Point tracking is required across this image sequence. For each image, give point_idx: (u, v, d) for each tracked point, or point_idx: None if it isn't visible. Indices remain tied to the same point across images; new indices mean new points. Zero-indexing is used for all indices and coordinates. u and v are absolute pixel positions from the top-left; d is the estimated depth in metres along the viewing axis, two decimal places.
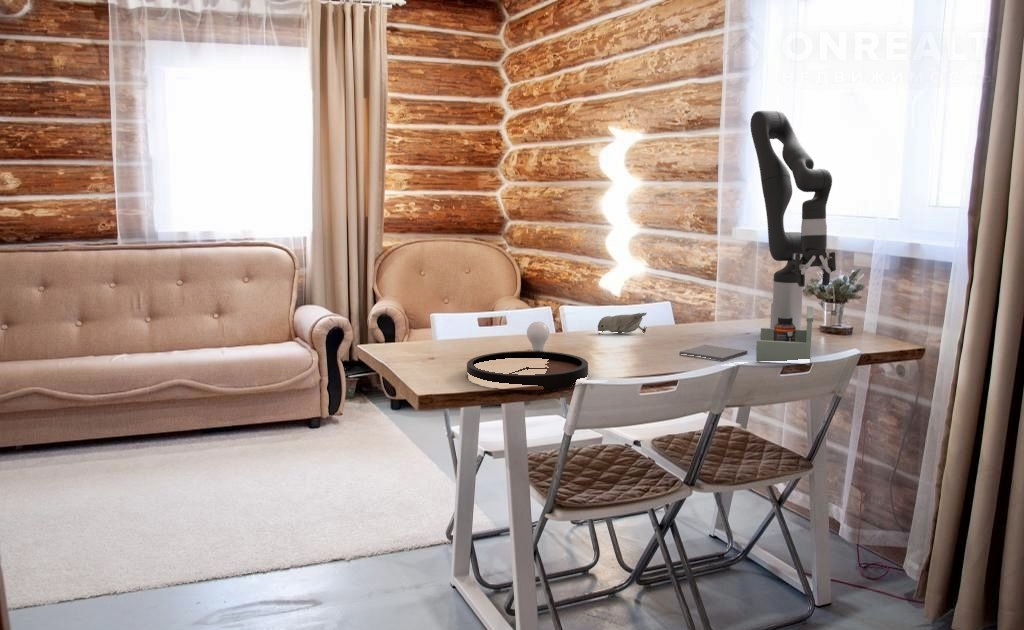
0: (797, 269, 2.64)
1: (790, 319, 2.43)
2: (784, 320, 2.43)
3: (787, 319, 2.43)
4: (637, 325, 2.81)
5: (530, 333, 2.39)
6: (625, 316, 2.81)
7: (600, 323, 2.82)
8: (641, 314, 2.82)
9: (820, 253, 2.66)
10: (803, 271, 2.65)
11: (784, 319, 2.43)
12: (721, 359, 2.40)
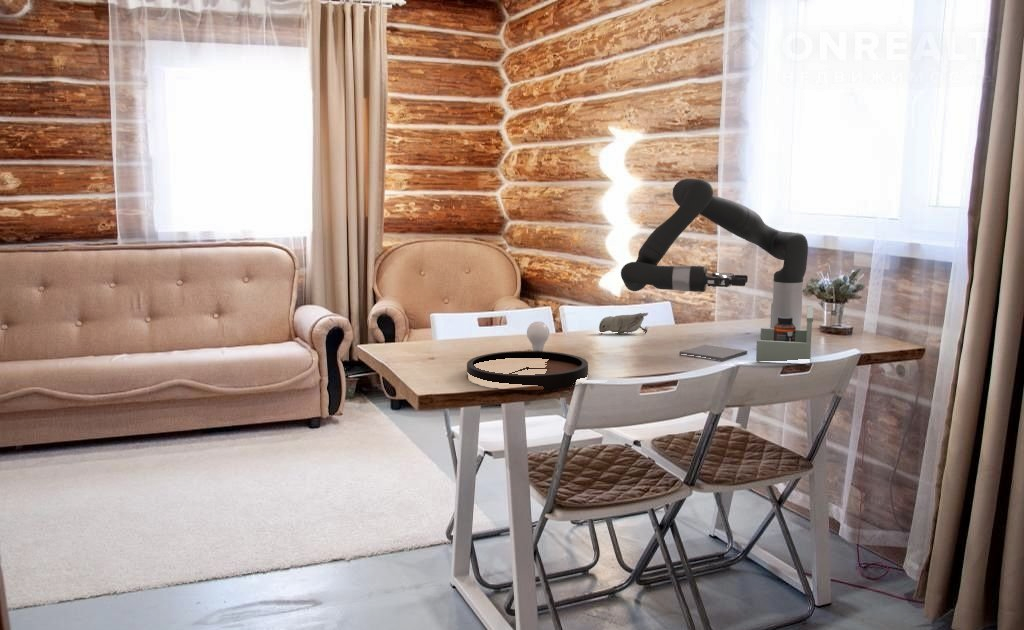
0: None
1: (790, 319, 2.43)
2: (784, 320, 2.43)
3: (787, 319, 2.43)
4: (638, 325, 2.81)
5: (530, 333, 2.39)
6: (626, 316, 2.81)
7: (601, 323, 2.82)
8: (642, 314, 2.82)
9: None
10: None
11: (784, 319, 2.43)
12: (721, 359, 2.40)
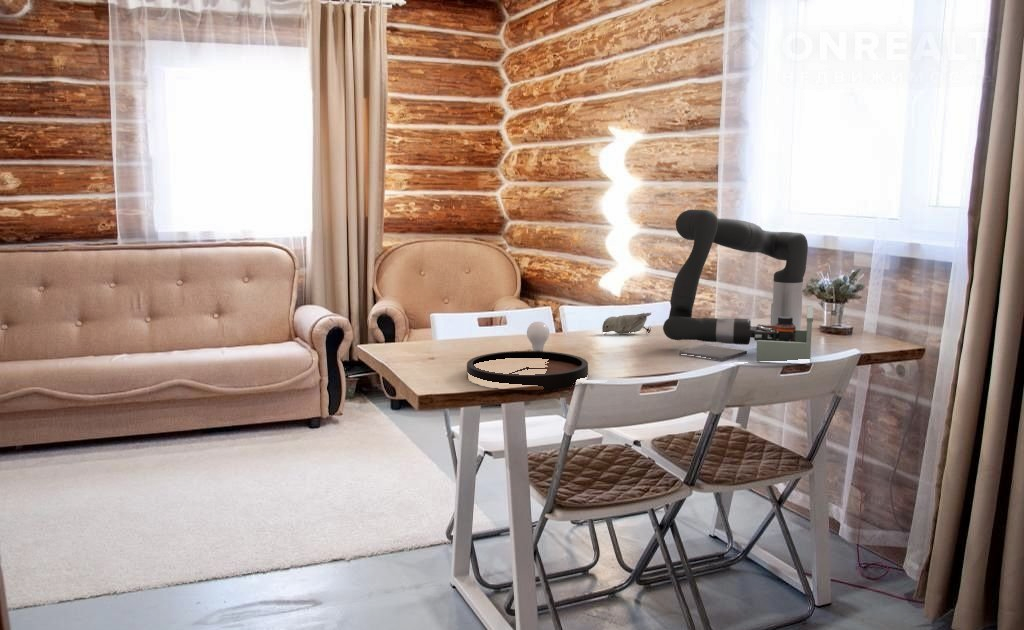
0: None
1: (790, 319, 2.43)
2: (784, 320, 2.43)
3: (787, 319, 2.43)
4: (642, 325, 2.81)
5: (530, 333, 2.39)
6: (630, 316, 2.81)
7: (605, 324, 2.81)
8: (646, 314, 2.81)
9: None
10: None
11: (784, 319, 2.43)
12: (721, 359, 2.40)
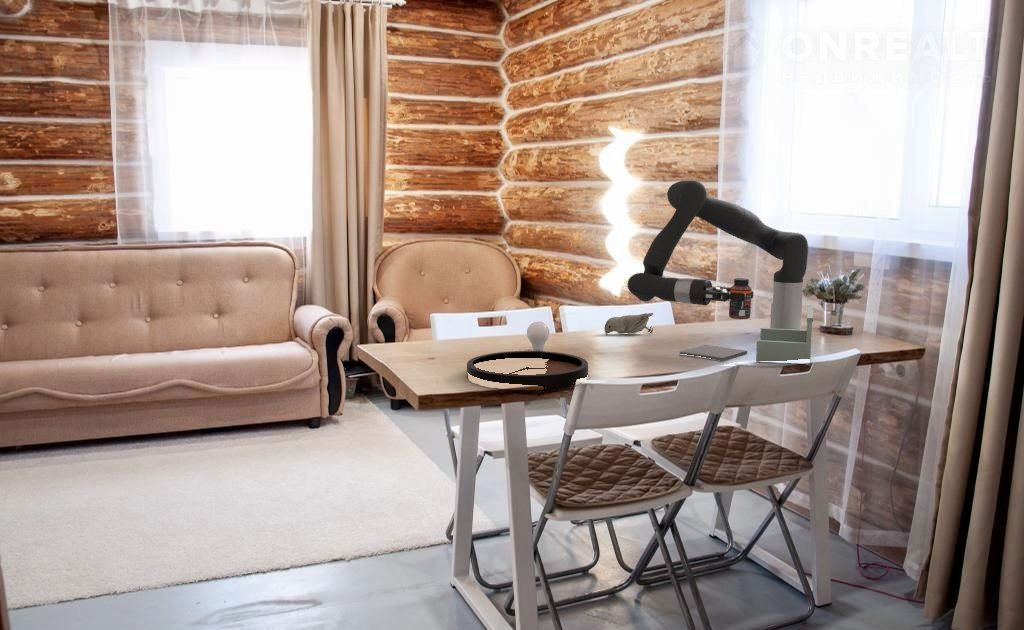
0: None
1: (744, 281, 2.42)
2: (738, 281, 2.42)
3: (741, 281, 2.42)
4: (644, 325, 2.81)
5: (530, 333, 2.39)
6: (632, 316, 2.81)
7: (607, 324, 2.81)
8: (648, 314, 2.81)
9: None
10: None
11: (738, 280, 2.42)
12: (721, 359, 2.40)
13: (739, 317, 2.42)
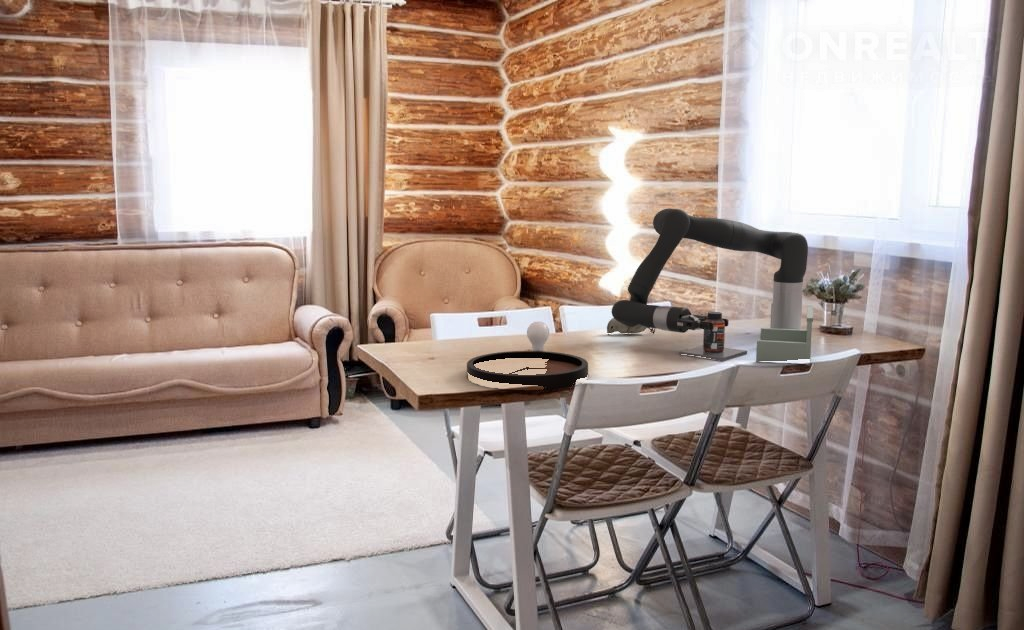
0: None
1: (717, 314, 2.46)
2: (710, 315, 2.46)
3: (713, 314, 2.46)
4: None
5: (530, 333, 2.39)
6: None
7: (610, 324, 2.80)
8: None
9: None
10: None
11: (710, 314, 2.46)
12: (721, 359, 2.40)
13: (711, 350, 2.46)
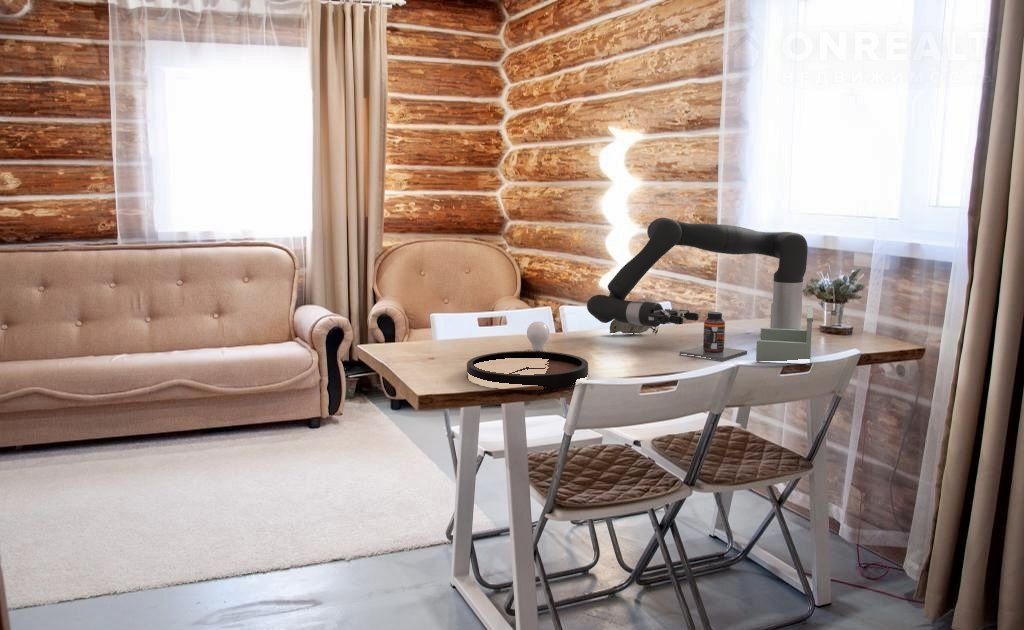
0: None
1: (717, 314, 2.46)
2: (710, 315, 2.46)
3: (713, 314, 2.46)
4: None
5: (530, 333, 2.39)
6: None
7: (613, 324, 2.80)
8: None
9: None
10: (684, 319, 2.60)
11: (710, 314, 2.46)
12: (721, 359, 2.40)
13: (711, 350, 2.46)
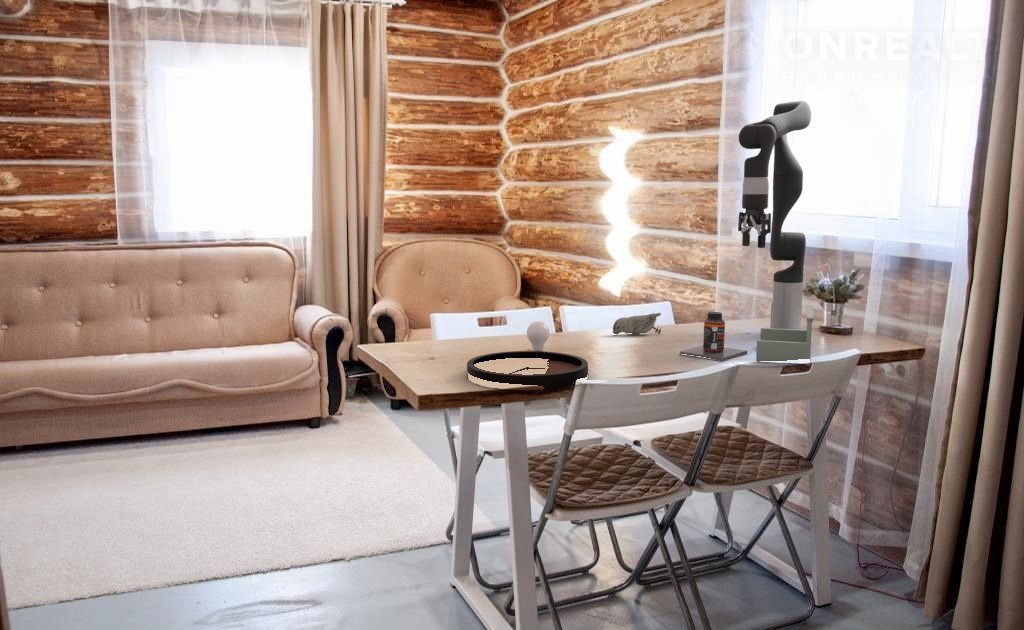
0: (738, 227, 2.64)
1: (717, 314, 2.46)
2: (710, 315, 2.46)
3: (713, 314, 2.46)
4: (652, 325, 2.80)
5: (530, 333, 2.39)
6: (640, 317, 2.80)
7: (616, 325, 2.79)
8: (656, 314, 2.81)
9: (754, 213, 2.56)
10: (742, 230, 2.62)
11: (710, 314, 2.46)
12: (721, 359, 2.40)
13: (711, 350, 2.46)
